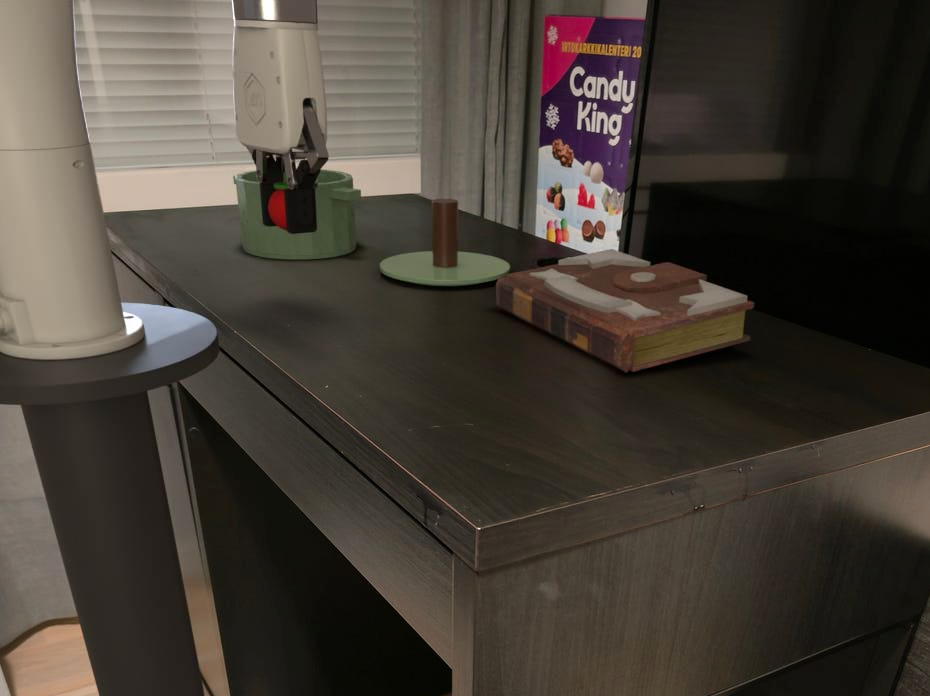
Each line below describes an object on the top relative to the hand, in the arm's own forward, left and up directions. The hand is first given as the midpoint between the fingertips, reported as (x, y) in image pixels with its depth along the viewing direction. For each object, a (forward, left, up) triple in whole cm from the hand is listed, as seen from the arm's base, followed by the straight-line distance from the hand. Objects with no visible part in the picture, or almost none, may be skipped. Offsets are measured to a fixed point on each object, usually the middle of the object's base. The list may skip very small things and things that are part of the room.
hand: (289, 226), depth 93 cm
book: (+21, -27, -8) cm, 35 cm away
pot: (+16, +25, -8) cm, 31 cm away
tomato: (0, 0, 0) cm, 0 cm away
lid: (+22, +2, -7) cm, 23 cm away
